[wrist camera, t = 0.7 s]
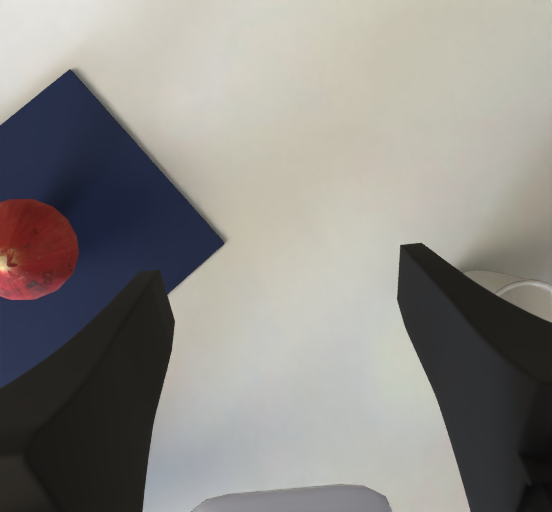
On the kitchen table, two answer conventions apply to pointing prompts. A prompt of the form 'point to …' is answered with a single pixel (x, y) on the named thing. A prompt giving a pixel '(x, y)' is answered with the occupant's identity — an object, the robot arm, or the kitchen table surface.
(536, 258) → the kitchen table surface
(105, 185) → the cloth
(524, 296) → the teacup
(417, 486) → the kitchen table surface
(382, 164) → the kitchen table surface
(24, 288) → the onion
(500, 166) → the kitchen table surface
